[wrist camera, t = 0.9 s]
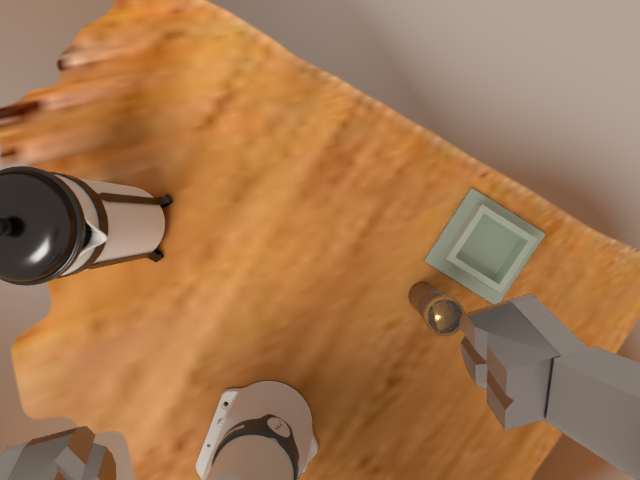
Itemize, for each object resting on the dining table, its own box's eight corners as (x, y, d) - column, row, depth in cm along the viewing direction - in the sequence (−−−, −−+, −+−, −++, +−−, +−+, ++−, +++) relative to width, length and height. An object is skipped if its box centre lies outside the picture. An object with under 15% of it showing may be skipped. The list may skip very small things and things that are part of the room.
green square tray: (495, 305, 67) (504, 310, 63) (423, 260, 67) (428, 263, 63) (543, 233, 66) (555, 234, 62) (470, 188, 66) (478, 186, 62)
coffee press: (148, 156, 67) (-2, 107, 38) (196, 239, 68) (86, 257, 38) (61, 208, 69) (-151, 201, 39) (110, 289, 69) (-63, 345, 39)
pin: (426, 317, 67) (450, 343, 53) (400, 300, 67) (417, 322, 53) (444, 290, 67) (472, 310, 53) (417, 274, 67) (439, 289, 53)
